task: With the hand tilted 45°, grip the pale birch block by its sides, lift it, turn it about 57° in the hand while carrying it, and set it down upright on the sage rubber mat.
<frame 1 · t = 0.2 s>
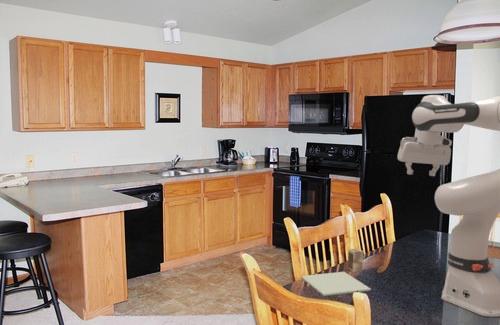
hand: (420, 175, 165), 38 cm above the table, fingers open, 8 cm apart
sage mat: (334, 283, 155), on the table
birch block: (354, 270, 171), on the table
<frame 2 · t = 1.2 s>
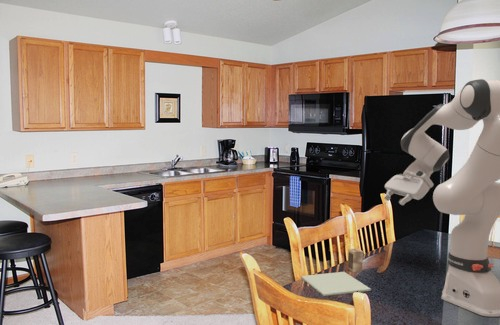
hand: (393, 201, 173), 26 cm above the table, fingers open, 8 cm apart
nothing on the table moved.
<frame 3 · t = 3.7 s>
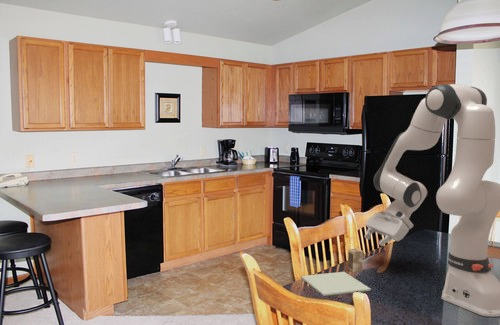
hand: (372, 241, 172), 11 cm above the table, fingers open, 8 cm apart
nothing on the table moved.
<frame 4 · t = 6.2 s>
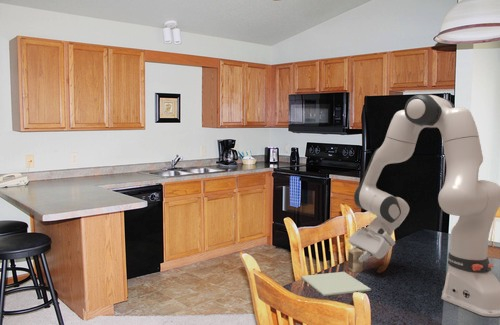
hand: (355, 258, 170), 5 cm above the table, fingers closed on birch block, 4 cm apart
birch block: (354, 270, 171), on the table, touching gripper
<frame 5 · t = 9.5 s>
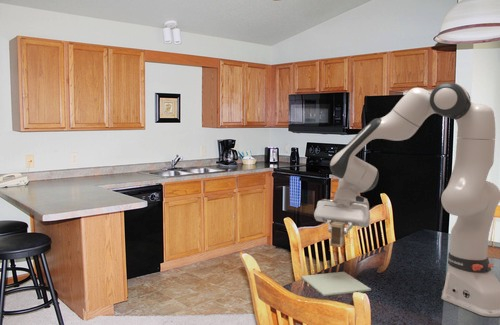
hand: (337, 232, 157), 18 cm above the table, fingers closed on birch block, 4 cm apart
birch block: (337, 245, 158), point 13 cm above the table, touching gripper
when the fingers open (6 cm above the table, at t = 13.0 s): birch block drops 1 cm, resting on sage mat.
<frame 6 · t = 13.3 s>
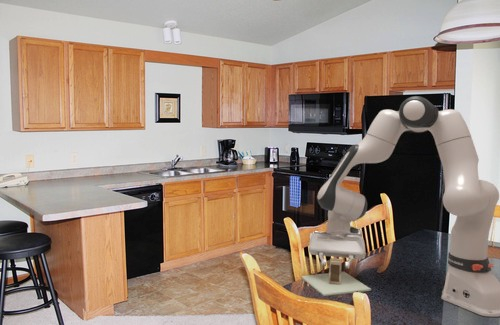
hand: (335, 266, 155), 6 cm above the table, fingers open, 7 cm apart
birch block: (334, 282, 155), point 1 cm above the table, touching sage mat
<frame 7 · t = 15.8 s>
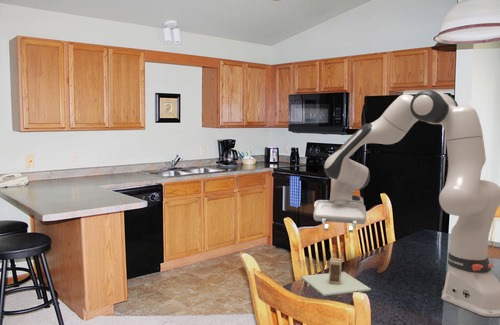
hand: (338, 230, 166), 16 cm above the table, fingers open, 8 cm apart
nothing on the table moved.
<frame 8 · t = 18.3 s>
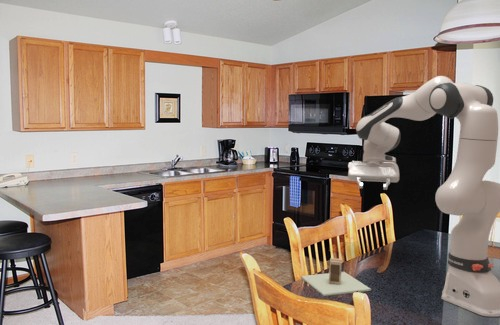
hand: (373, 188, 175), 31 cm above the table, fingers open, 8 cm apart
nothing on the table moved.
at the end: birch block inside the target area on the sage mat (0.1 cm from its centre), point 0.6 cm above the sage mat's base; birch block tilted 0°; the gripper is holding nothing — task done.
